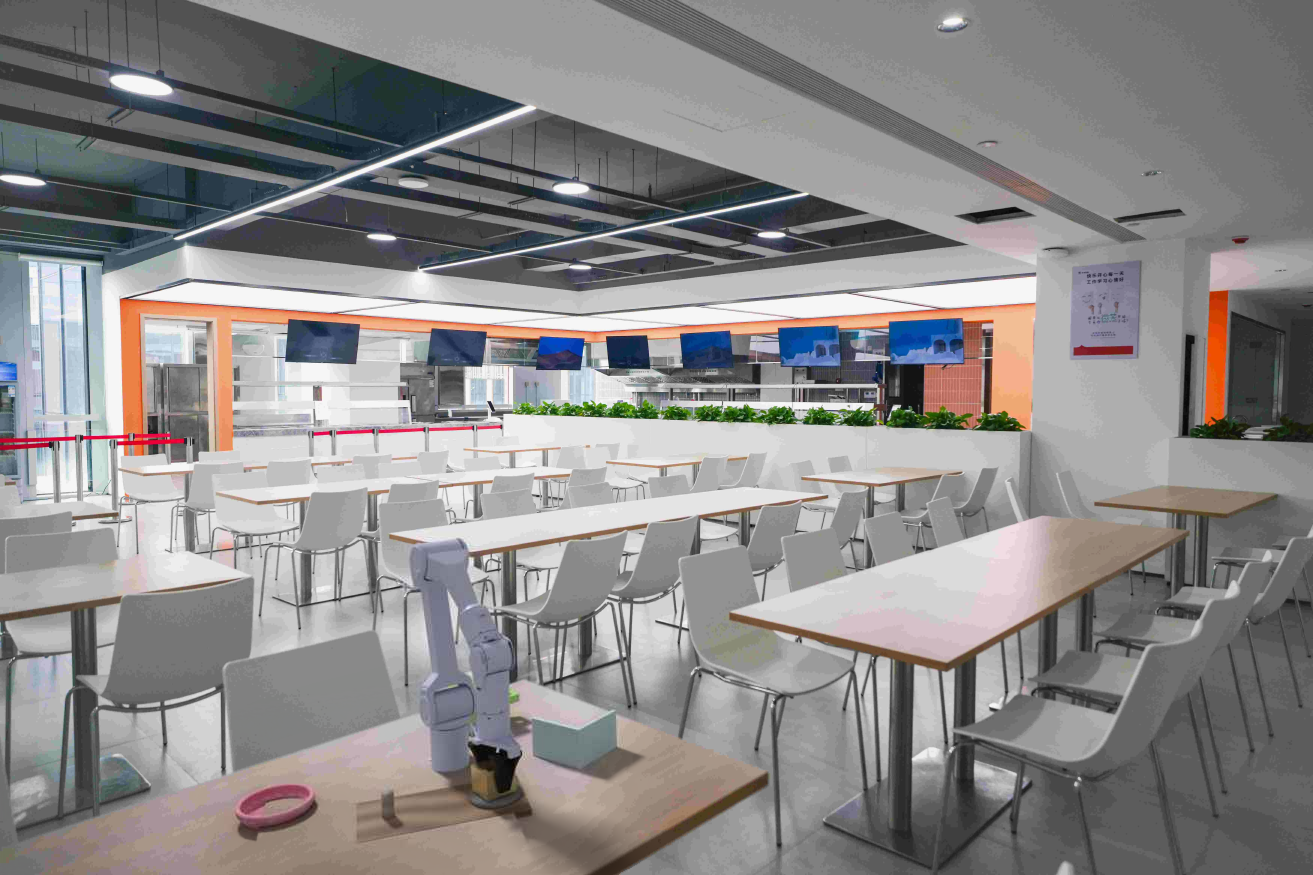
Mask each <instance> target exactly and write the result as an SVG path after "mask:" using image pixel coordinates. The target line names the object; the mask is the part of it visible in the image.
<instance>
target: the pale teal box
mask: <svg viewBox="0 0 1313 875" xmlns="http://www.w3.org/2000/svg"><path fill="white" fill-rule="evenodd" d="M617 731H618V730H617V710H616V709H611V710H610V711H609V710H608V711H607V712H605V713H603V714H602V715H600V716H598V717H596V718H594V719H592V720H590V721H588V722H586V723H584V724H583V725H581V726H578V727H577V726H573V725H569V724H566V723H562V722H559V721H554V720H549V719H546V718H542V717H539V716H534V717H531V736H532V737H531V738H532V739H531V740H532V742H531V743H532V756H534V757H537V758H541V759H544V760H546V761H547V760H548V761H551V762H554V763H558V764H561V765H565V766H568V767H572V768H575V769H578V770H580V769H582V768H584V767H586V766H588V765H589V764H591V763H592V762H594V761H595V760H597V759H599V758H600V757H602V756H604V755H606V754H607V753H608V752H610V751H612V750H614V749H615V747H616V748H617V747H618V745H617V744H618V738H617V734H618V733H617Z"/></svg>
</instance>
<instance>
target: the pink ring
mask: <svg viewBox="0 0 1313 875" xmlns="http://www.w3.org/2000/svg"><path fill="white" fill-rule="evenodd" d="M279 798H281V799H282V798H297V799H301V800H303V801H304V802H302V803H301V804H299V805H297V806H295V807H293V808H291V809H288V810H285V811H283V812H279V813H275V814H270V815H268V814H267V815H264V810H265V807H266V802H267V801H271V800H274V799H279ZM315 798H316V792H315V789H314V788H313V786H310V785H308V784H306V783H297V782H294V783H293V782H291V783H290V782H289V783H281V784H276V785H271V786H267V787H264V788H260V789H259V790H256V791H254V792H252V793H250V794H248V795H246V796H245V797H243V798H242V799H240V800H239V802H238V803H237V804H236V806H235V809H234V814H235V817H236V819H237V820H238V821H239V822H241V823H242V824H243V825H245V826H246V827H248V828H249V829H252V830H255V829H256V831H259V830H260V828H261V827H268V826H269V827H270V826H275V825H280V824H283V823H286V822H289V821H292V820H295V819H296V818H298V817H300V816H301V815H303V814H304V813H306V812H307V811H308V810H309V809H310V808H311V806H312V805H313V802H314V801H315Z"/></svg>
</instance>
